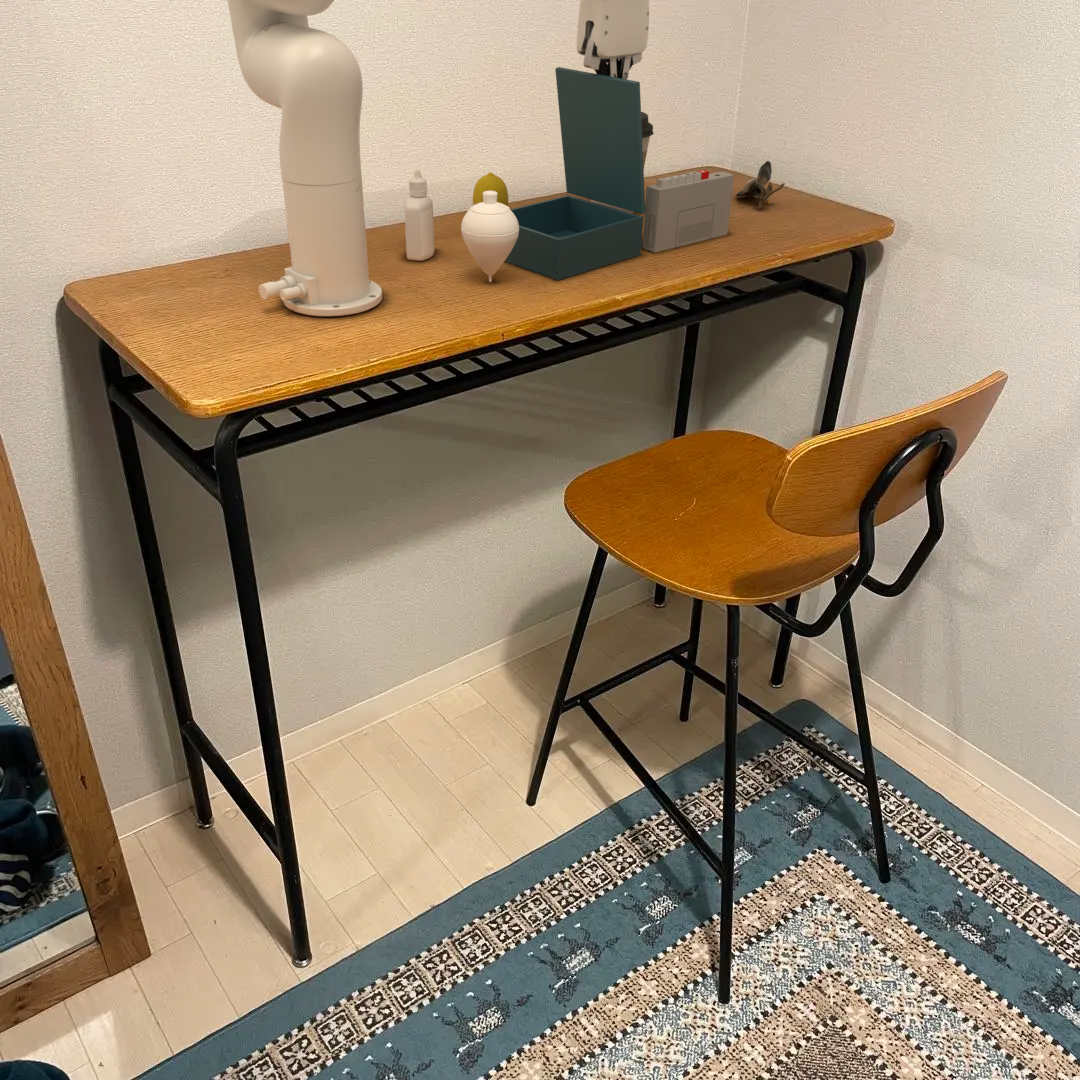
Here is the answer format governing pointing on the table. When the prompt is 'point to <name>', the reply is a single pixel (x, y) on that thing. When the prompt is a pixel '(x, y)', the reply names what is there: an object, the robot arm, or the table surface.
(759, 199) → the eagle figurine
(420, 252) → the eye dropper bottle
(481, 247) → the spinning top
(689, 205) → the cassette player
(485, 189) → the lemon
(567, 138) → the lid
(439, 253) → the table surface
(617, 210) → the chest
